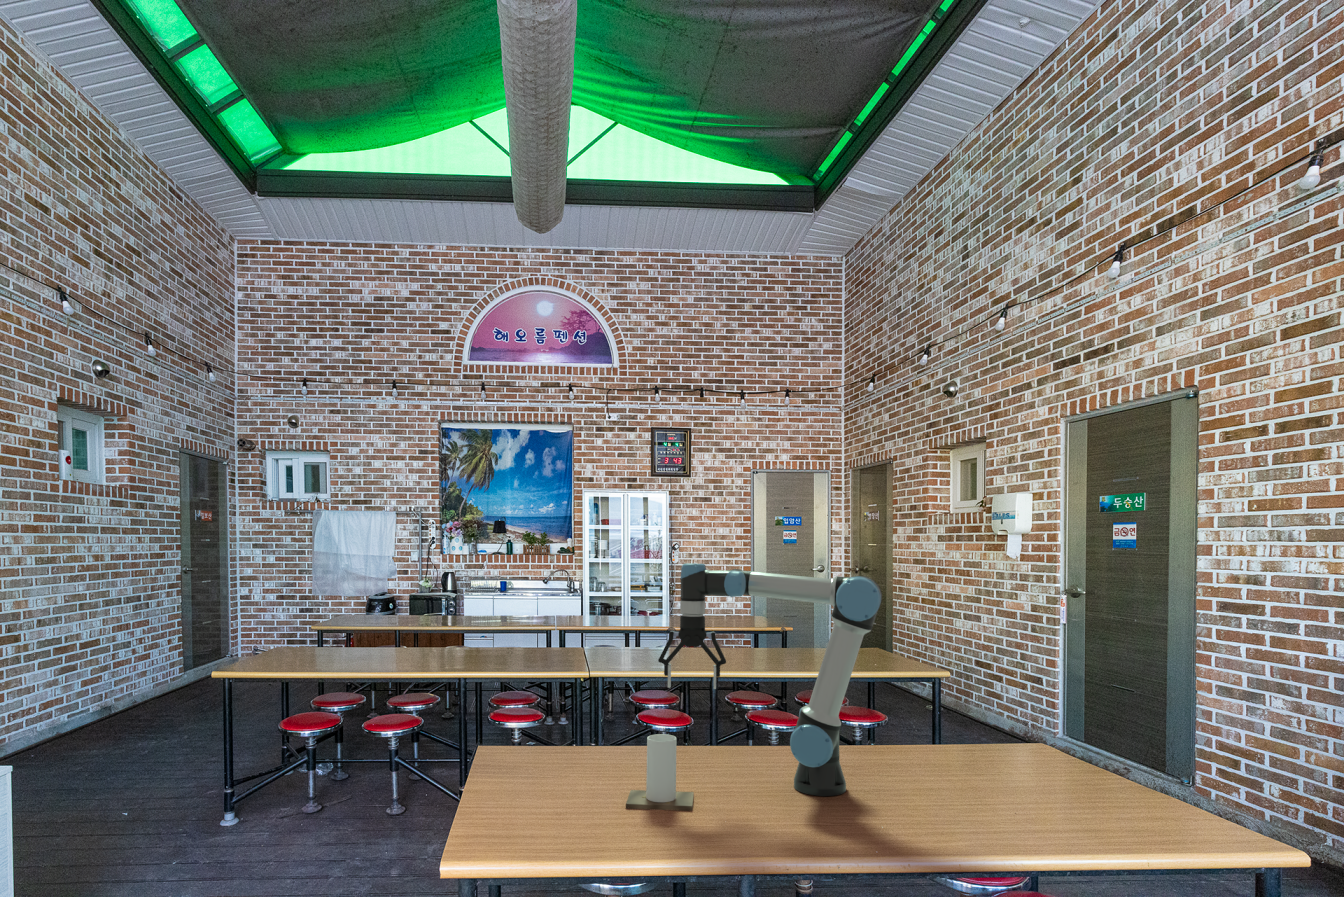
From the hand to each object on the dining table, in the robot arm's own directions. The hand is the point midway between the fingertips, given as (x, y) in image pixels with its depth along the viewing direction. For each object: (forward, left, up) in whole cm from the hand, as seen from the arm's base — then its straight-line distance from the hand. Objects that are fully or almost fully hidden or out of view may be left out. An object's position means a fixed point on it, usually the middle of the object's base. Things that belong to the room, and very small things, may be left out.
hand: (691, 687), depth 229 cm
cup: (+8, +13, -28) cm, 32 cm away
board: (+8, +13, -29) cm, 33 cm away
